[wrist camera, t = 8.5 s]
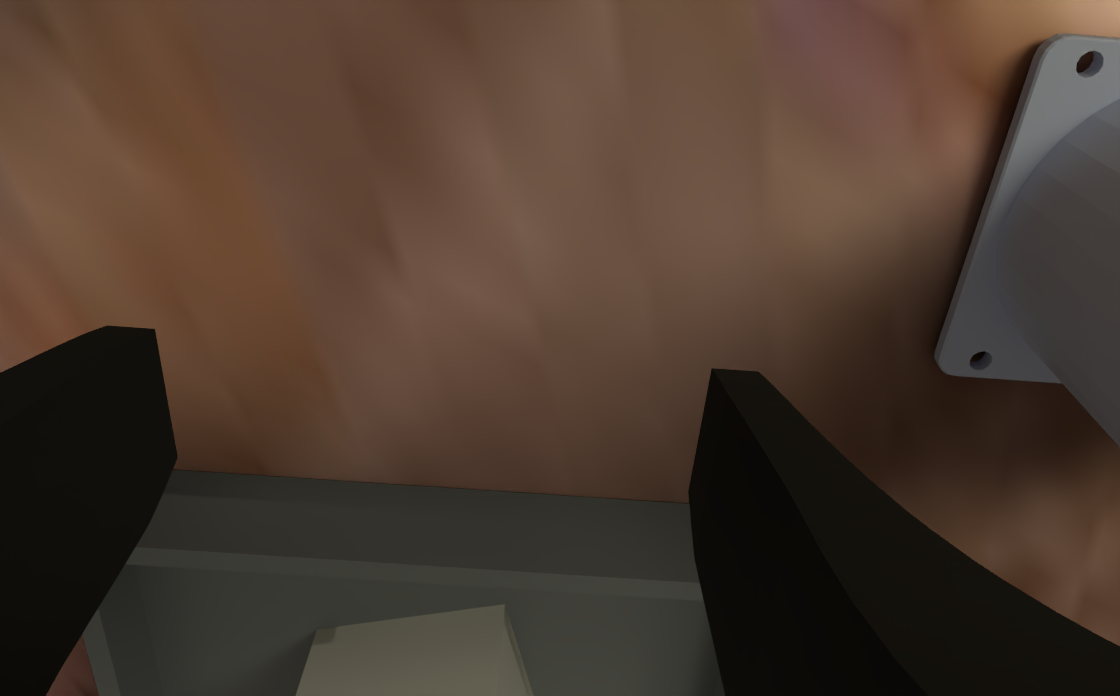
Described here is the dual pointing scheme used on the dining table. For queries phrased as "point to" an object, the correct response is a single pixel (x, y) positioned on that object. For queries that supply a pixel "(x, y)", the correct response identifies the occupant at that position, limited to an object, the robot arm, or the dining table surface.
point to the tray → (400, 584)
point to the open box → (419, 657)
